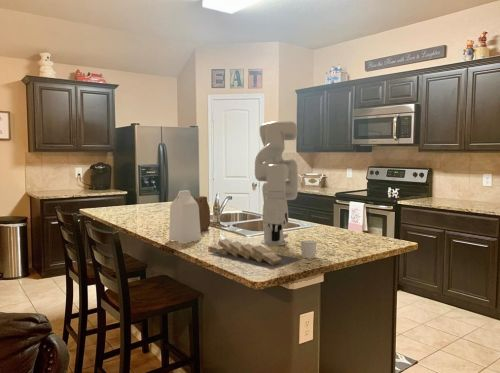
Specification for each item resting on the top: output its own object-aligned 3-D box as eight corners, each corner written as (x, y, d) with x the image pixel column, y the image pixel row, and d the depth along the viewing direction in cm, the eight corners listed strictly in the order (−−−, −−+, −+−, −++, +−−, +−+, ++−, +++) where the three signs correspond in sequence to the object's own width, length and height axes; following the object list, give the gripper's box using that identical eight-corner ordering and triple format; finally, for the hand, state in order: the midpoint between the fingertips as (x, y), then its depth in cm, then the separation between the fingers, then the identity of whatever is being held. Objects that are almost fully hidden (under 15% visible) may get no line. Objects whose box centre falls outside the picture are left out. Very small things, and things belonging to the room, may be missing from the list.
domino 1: (236, 257, 177) (217, 244, 184) (244, 254, 181) (225, 242, 188) (237, 252, 176) (218, 240, 184) (245, 250, 180) (226, 238, 187)
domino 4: (272, 265, 164) (251, 251, 171) (280, 262, 167) (259, 249, 175) (273, 260, 163) (252, 247, 170) (281, 258, 167) (260, 245, 174)
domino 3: (260, 262, 168) (240, 249, 175) (268, 260, 172) (248, 247, 179) (261, 258, 167) (241, 245, 175) (269, 255, 171) (249, 243, 178)
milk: (182, 243, 207) (182, 192, 205) (169, 240, 214) (168, 191, 212) (201, 240, 216) (200, 190, 214) (187, 237, 223) (186, 189, 221)
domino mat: (240, 248, 197) (240, 246, 197) (302, 260, 173) (302, 259, 173) (209, 255, 182) (209, 254, 182) (272, 270, 158) (272, 269, 158)
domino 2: (248, 259, 172) (228, 247, 180) (255, 257, 176) (236, 245, 183) (249, 255, 172) (229, 243, 179) (257, 253, 176) (237, 241, 183)
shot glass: (301, 255, 182) (301, 239, 182) (317, 256, 180) (317, 240, 180) (299, 259, 176) (299, 243, 175) (315, 260, 174) (315, 244, 173)
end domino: (226, 254, 181) (208, 250, 189) (234, 252, 185) (216, 248, 193) (226, 250, 181) (208, 246, 189) (234, 248, 185) (216, 244, 193)
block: (198, 232, 238) (198, 197, 236) (189, 230, 242) (189, 196, 241) (211, 229, 246) (211, 196, 244) (203, 228, 251) (202, 195, 249)
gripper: (255, 194, 166) (255, 239, 167) (285, 197, 156) (284, 245, 157) (267, 193, 171) (267, 236, 173) (296, 195, 161) (296, 241, 163)
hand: (275, 240), depth 165 cm, fingers closed
